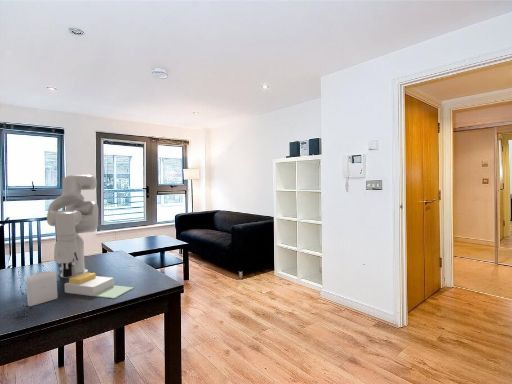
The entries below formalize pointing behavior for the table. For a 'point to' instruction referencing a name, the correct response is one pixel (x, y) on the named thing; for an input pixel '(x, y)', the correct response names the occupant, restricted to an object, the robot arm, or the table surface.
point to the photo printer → (41, 288)
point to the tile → (82, 278)
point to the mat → (114, 292)
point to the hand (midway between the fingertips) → (67, 276)
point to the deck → (90, 286)
